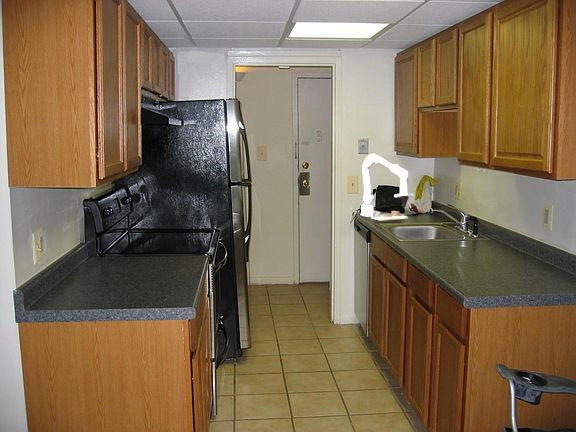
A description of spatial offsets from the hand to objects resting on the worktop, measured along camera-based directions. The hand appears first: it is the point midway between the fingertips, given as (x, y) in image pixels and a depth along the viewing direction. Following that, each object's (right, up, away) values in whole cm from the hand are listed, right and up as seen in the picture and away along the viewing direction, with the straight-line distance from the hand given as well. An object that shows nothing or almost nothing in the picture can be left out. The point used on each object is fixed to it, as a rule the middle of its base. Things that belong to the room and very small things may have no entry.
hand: (403, 207), depth 443 cm
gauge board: (-11, -8, -6) cm, 15 cm away
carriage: (-5, -6, -4) cm, 9 cm away
